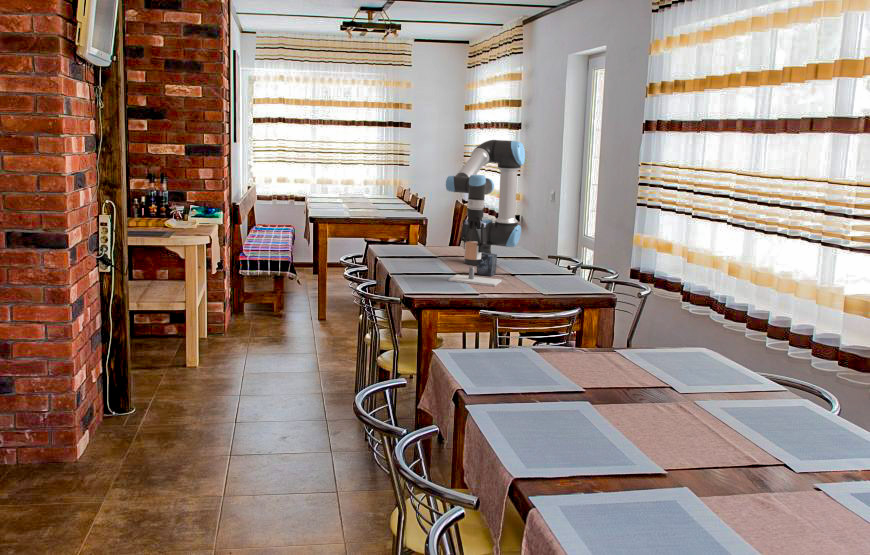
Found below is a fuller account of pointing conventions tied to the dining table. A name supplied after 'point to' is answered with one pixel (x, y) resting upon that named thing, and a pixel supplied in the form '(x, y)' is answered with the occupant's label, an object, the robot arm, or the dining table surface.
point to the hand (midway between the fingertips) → (472, 257)
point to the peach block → (471, 250)
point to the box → (487, 264)
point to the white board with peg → (475, 279)
